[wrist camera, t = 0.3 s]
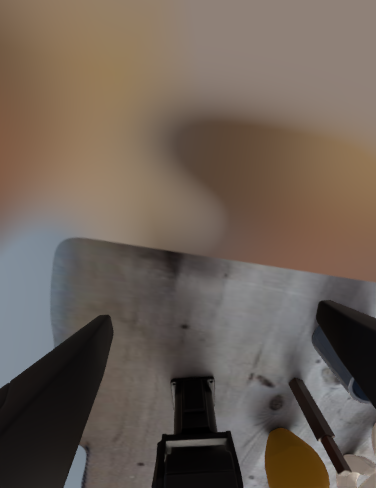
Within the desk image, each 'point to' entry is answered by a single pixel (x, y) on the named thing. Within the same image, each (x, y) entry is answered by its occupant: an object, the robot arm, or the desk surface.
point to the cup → (337, 366)
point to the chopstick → (319, 426)
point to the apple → (293, 462)
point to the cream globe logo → (359, 469)
